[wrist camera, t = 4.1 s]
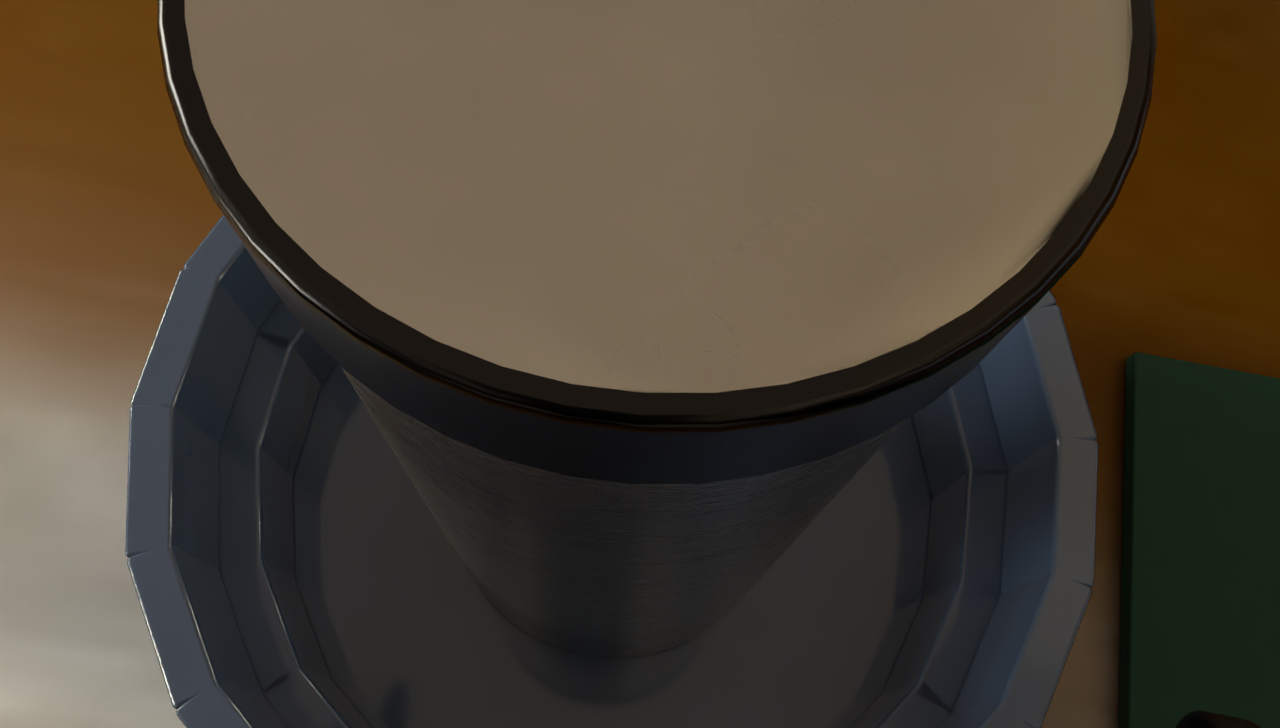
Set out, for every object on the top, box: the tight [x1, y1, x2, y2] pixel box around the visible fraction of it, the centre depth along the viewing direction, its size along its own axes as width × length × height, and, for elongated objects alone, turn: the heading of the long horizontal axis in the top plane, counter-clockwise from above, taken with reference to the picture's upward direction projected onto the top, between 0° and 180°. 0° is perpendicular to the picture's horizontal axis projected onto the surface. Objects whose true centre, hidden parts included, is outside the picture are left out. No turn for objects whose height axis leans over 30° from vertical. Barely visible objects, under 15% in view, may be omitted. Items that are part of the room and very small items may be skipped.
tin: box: [157, 0, 1157, 658], centre depth 12 cm, size 6×6×13 cm
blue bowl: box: [125, 215, 1098, 728], centre depth 17 cm, size 13×13×4 cm
